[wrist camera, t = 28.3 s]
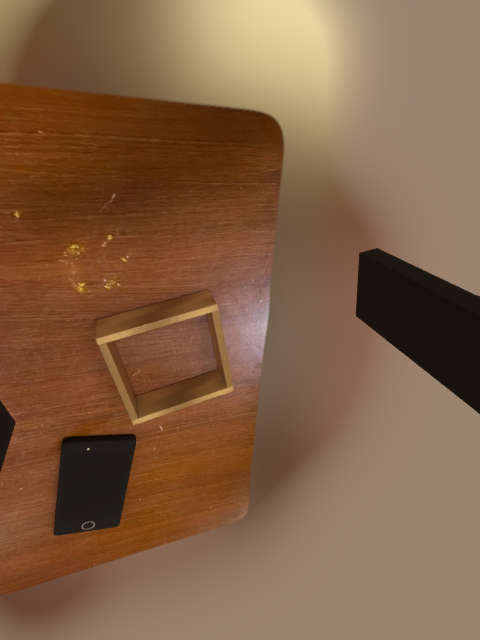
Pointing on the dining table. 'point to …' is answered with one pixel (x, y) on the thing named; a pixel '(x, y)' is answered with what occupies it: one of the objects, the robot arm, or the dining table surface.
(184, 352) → the dining table surface
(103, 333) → the wooden frame
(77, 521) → the cell phone
